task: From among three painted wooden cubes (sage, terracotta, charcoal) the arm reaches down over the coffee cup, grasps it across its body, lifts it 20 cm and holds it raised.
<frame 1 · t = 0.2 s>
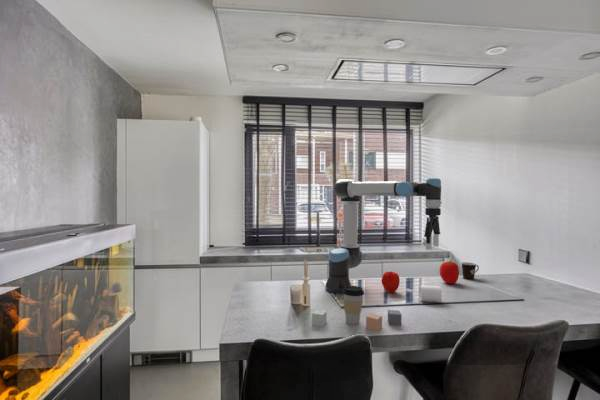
hand: (432, 248, 182), 28 cm above the kitchen island, fingers open, 13 cm apart
coffee cup: (352, 322, 151), on the kitchen island
charcoal cube: (394, 323, 150), on the kitchen island
terracotta cube: (374, 328, 145), on the kitchen island
coffee mug: (470, 279, 230), on the kitchen island
sage cube: (319, 323, 150), on the kitchen island
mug: (429, 300, 183), on the kitchen island
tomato: (448, 283, 218), on the kitchen island
apple: (390, 292, 197), on the kitchen island
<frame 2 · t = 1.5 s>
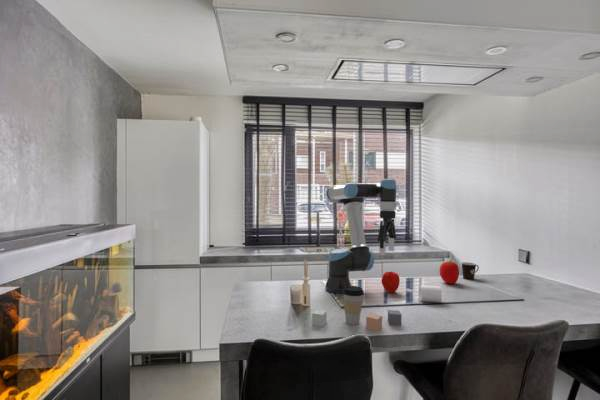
hand: (386, 252, 172), 27 cm above the kitchen island, fingers open, 13 cm apart
nothing on the kitchen island moved.
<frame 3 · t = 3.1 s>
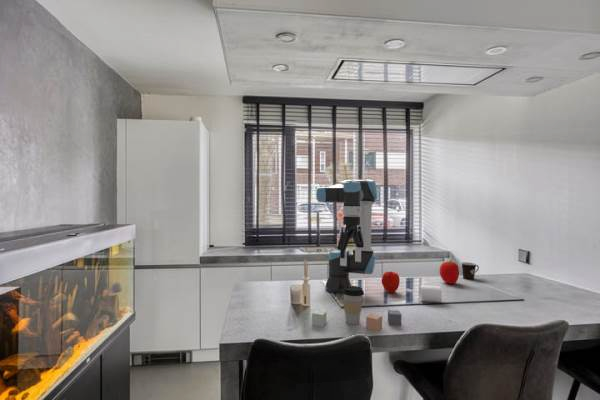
hand: (350, 263, 154), 25 cm above the kitchen island, fingers open, 13 cm apart
nothing on the kitchen island moved.
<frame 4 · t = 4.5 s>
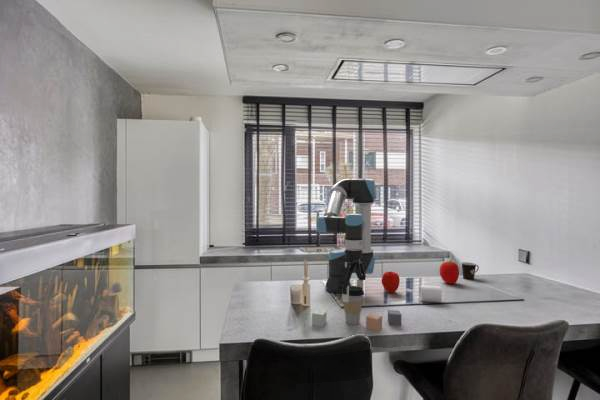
hand: (352, 297, 151), 11 cm above the kitchen island, fingers open, 13 cm apart
nothing on the kitchen island moved.
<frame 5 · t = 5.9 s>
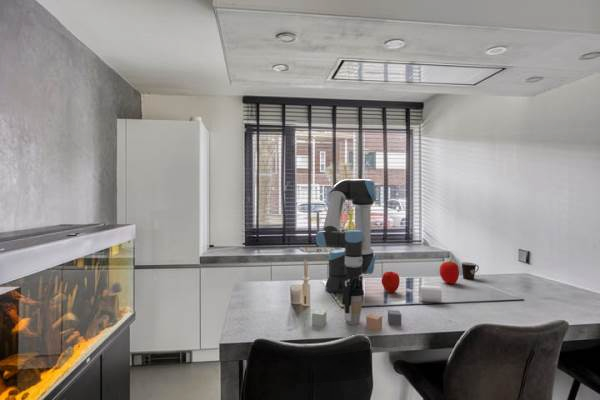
hand: (352, 317, 151), 2 cm above the kitchen island, fingers closed on coffee cup, 8 cm apart
coffee cup: (352, 322, 151), on the kitchen island, touching gripper
everything else where it was.
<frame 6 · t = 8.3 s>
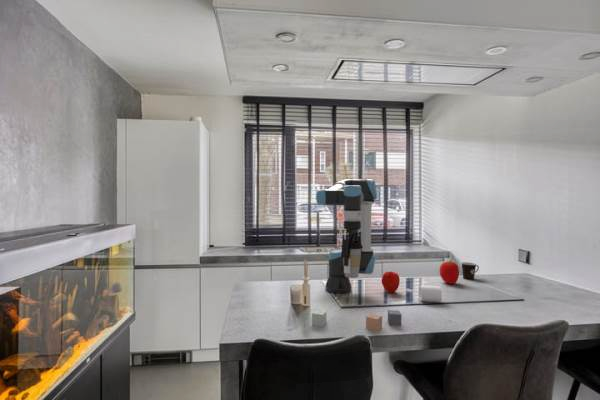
hand: (351, 271, 153), 22 cm above the kitchen island, fingers closed on coffee cup, 8 cm apart
coffee cup: (351, 276, 153), point 19 cm above the kitchen island, touching gripper
everything else where it was.
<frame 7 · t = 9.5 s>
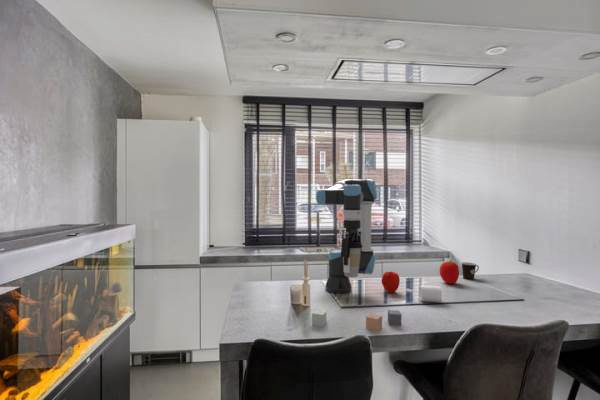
hand: (351, 270, 153), 22 cm above the kitchen island, fingers closed on coffee cup, 8 cm apart
coffee cup: (351, 276, 154), point 20 cm above the kitchen island, touching gripper
everything else where it was.
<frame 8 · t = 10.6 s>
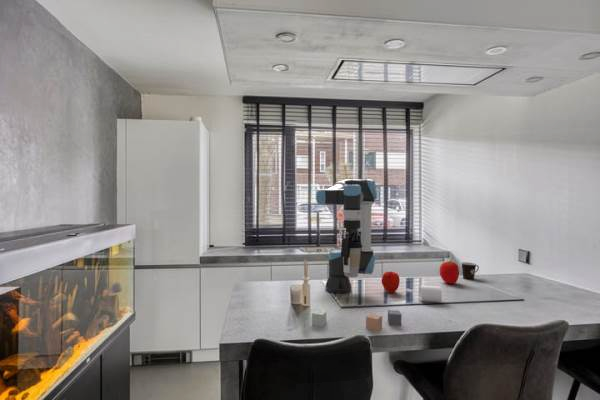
hand: (351, 270, 153), 22 cm above the kitchen island, fingers closed on coffee cup, 8 cm apart
coffee cup: (351, 276, 154), point 20 cm above the kitchen island, touching gripper
everything else where it was.
at the end: the gripper is holding coffee cup; coffee cup point 19.7 cm above the kitchen island; sage cube moved 0.1 cm from its start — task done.
